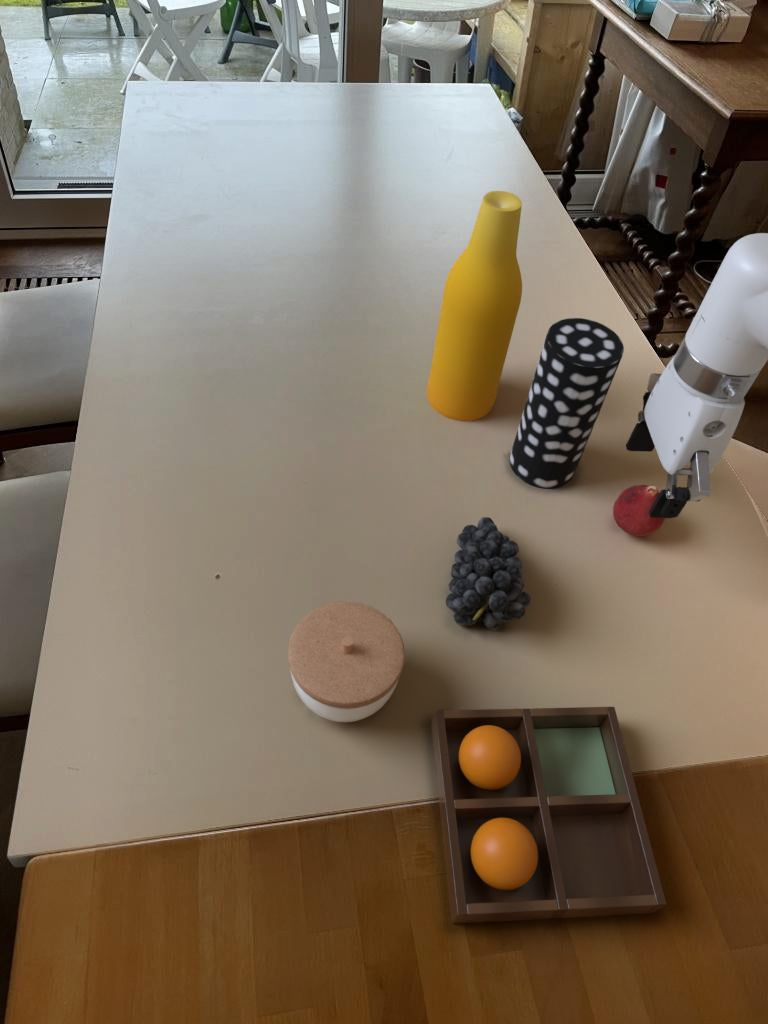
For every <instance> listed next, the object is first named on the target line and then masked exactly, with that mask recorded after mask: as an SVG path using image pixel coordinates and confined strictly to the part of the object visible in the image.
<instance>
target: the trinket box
mask: <svg viewBox="0 0 768 1024" xmlns="http://www.w3.org/2000/svg"><path fill="white" fill-rule="evenodd" d="M289 639H290V640H289V643H288V649H287V650H288V652H287V654H288V655H287V656H288V663H289V664H288V665H289V670H290V676H291V680H292V683H293V687H294V689H295V691H296V693H297V695H298V697H299V698H300V700H301V701H302V703H303V704H304V705H305V706H306V707H307V708H308V709H309V710H310V711H312V712H313V713H314V714H315V715H317V716H318V717H319V716H320V717H321V718H323V719H325V720H328V721H331V722H336V723H352V722H353V723H354V722H358V721H361V720H363V719H365V718H369V717H370V716H372V715H374V714H375V713H377V712H378V711H379V710H380V709H381V708H383V707H384V706H385V704H386V703H387V702H388V701H389V699H390V698H391V697H392V695H393V693H394V691H395V689H396V687H397V686H398V685H397V684H398V682H399V679H400V677H401V674H402V672H403V668H404V663H405V658H406V657H405V655H406V653H405V645H404V640H403V638H402V636H401V633H400V631H399V629H398V627H397V626H396V625H395V623H394V622H393V621H392V620H391V618H389V617H388V616H387V615H386V614H384V613H383V612H381V610H379V609H377V608H374V607H372V606H370V605H368V604H364V603H361V602H355V601H344V600H343V601H335V602H331V603H326V604H324V605H321V606H319V607H317V608H314V609H313V610H312V611H309V613H307V614H306V615H305V616H304V617H302V619H301V620H300V621H299V622H298V623H297V625H296V626H295V627H294V629H293V632H292V634H291V636H290V638H289Z"/></svg>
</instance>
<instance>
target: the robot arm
mask: <svg viewBox="0 0 768 1024" xmlns="http://www.w3.org/2000/svg"><path fill="white" fill-rule="evenodd" d="M766 363H768V232H758V233H751V234H747V235H744V236H743V237H741V238H739V239H738V240H736V241H735V242H734V243H733V245H732V246H731V247H730V248H729V249H728V251H727V253H726V255H725V256H724V258H723V260H722V261H721V264H720V266H719V268H718V270H717V272H716V274H715V276H714V278H713V279H712V281H711V284H710V285H709V287H708V290H707V291H706V293H705V295H704V297H703V300H702V302H701V304H700V306H699V308H698V310H697V312H696V314H695V315H694V317H693V320H692V321H691V323H690V325H689V327H688V329H687V331H686V333H685V335H684V337H683V339H682V341H681V343H680V345H679V347H678V349H677V351H676V352H675V353H674V355H673V357H672V358H671V359H670V360H669V362H668V364H667V365H666V367H665V368H664V369H663V371H662V373H653V372H652V373H650V375H649V378H648V383H647V388H646V390H647V391H645V393H644V395H643V396H642V400H643V401H642V410H640V411H638V412H637V413H638V414H637V421H638V422H636V424H635V426H634V427H633V430H632V432H631V433H630V436H629V438H628V440H627V442H626V444H625V448H626V450H627V451H629V452H647V453H648V452H653V451H654V449H655V451H656V453H657V456H658V458H659V461H660V464H661V466H662V468H663V469H664V470H665V472H667V476H666V486H665V489H661V490H660V491H659V495H658V496H657V498H656V500H655V501H654V503H653V505H652V507H651V508H650V510H649V515H650V517H652V518H665V519H674V518H678V516H679V515H680V514H681V513H682V511H683V509H684V508H685V506H686V504H687V503H688V502H700V501H702V500H704V499H706V498H709V497H711V495H712V489H711V486H712V485H711V476H710V475H711V474H712V472H714V471H715V468H716V467H717V465H718V463H719V462H720V460H721V458H722V456H723V455H724V453H725V451H726V449H727V447H728V445H729V444H730V442H731V440H732V438H733V436H734V434H735V432H736V430H737V427H738V425H739V422H740V419H741V417H742V414H743V411H744V408H745V404H746V401H745V396H746V395H747V393H748V392H749V391H750V389H751V387H752V386H753V384H754V382H755V381H756V379H757V378H758V376H759V374H760V373H761V371H762V369H763V368H764V366H765V365H766ZM689 463H690V465H689ZM688 465H689V467H687V466H688ZM679 476H687V480H686V486H678V478H679Z"/></svg>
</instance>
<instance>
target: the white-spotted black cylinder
mask: <svg viewBox="0 0 768 1024" xmlns="http://www.w3.org/2000/svg"><path fill="white" fill-rule="evenodd" d="M624 351H625V347H624V343H623V340H622V339H621V338H620V336H619V334H617V333H616V332H615V331H614V330H612V329H611V328H610V327H608V326H607V325H604V324H603V323H600V322H598V321H596V320H591V319H587V318H583V317H571V318H569V317H568V318H563V319H560V320H558V321H556V322H555V323H552V325H551V326H550V327H549V328H548V330H547V332H546V335H545V339H544V342H543V345H542V349H541V353H540V355H539V359H538V362H537V365H536V369H535V371H534V375H533V378H532V382H531V385H530V389H529V392H528V394H527V398H526V401H525V405H524V408H523V411H522V415H521V418H520V421H519V424H518V428H517V431H516V434H515V438H514V440H513V445H512V447H511V451H510V454H509V460H508V461H509V465H510V468H511V470H512V472H513V473H514V474H515V476H516V477H517V478H518V479H520V480H521V481H522V482H524V483H525V484H527V485H529V486H532V487H534V488H537V489H543V490H554V489H559V488H562V487H564V486H566V485H568V484H569V483H570V482H571V481H572V479H573V478H574V477H575V473H576V472H577V469H578V466H579V463H580V461H581V459H582V456H583V453H584V452H585V449H586V446H587V445H588V441H589V439H590V437H591V434H592V432H593V429H594V427H595V424H596V421H597V419H598V417H599V414H600V412H601V409H602V407H603V405H604V402H605V401H606V400H605V399H606V398H607V395H608V393H609V390H610V387H611V385H612V382H613V380H614V378H615V375H616V372H617V370H618V368H619V366H620V363H621V361H622V359H623V357H624V356H623V355H624Z"/></svg>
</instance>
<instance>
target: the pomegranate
mask: <svg viewBox="0 0 768 1024" xmlns="http://www.w3.org/2000/svg"><path fill="white" fill-rule="evenodd" d="M659 493H660V491H659V489H658V487H657V486H656V485H655V484H654V485H648V484H637V485H632V486H630V487H628V488H625V489H624V490H622V491H621V493H620V494H619V495H618V497H617V498H616V500H615V501H614V504H613V508H612V510H613V511H612V517H613V519H614V521H615V523H616V525H617V526H618V527H619V528H620V529H621V530H622V531H624V532H625V533H627V534H629V535H631V536H636V537H643V536H644V537H645V536H649V535H651V534H654V533H655V532H657V531H658V530H660V528H661V527H662V526H663V524H664V522H665V520H666V518H652V517H650V515H649V510H650V508H651V507H652V505H653V503H654V501H655V500H656V498H657V496H658V495H659Z"/></svg>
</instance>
